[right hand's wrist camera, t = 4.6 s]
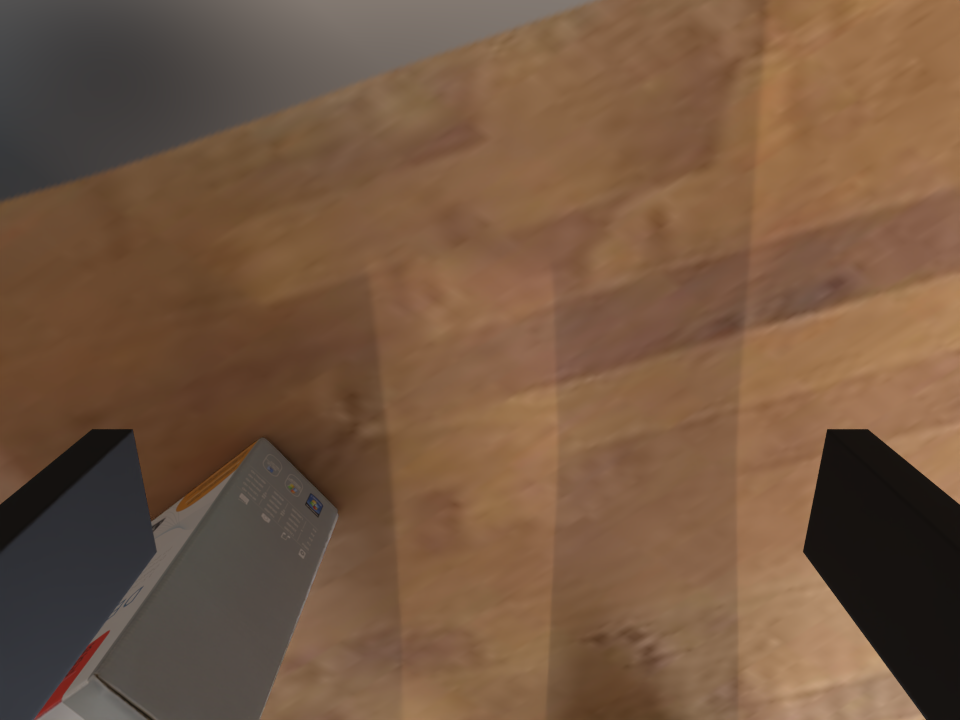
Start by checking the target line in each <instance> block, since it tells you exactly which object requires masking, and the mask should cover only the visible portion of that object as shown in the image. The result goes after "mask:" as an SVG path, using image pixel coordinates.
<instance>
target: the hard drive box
mask: <svg viewBox="0 0 960 720" xmlns="http://www.w3.org/2000/svg"><path fill="white" fill-rule="evenodd" d="M337 512H338V510H337V509H336V508H335V507H334V506H333V505H332V504H331V503H330V501H329V500H328V499H327V498H326V497H324V496H323V495H322V494H321V493H320V492H319V491H318V490H317V488H316V487H314V486H313V485H312V484H311V483H310V482H309V481H308V480H307V479H306V478H305V477H304V476H303V475H302V474H301V473H300V472H299V471H298V470H297V469H296V468H295V467H294V466H293V465H292V464H291V463H290V462H289V461H288V460H287V459H286V458H285V457H284V456H283V455H282V454H281V453H280V452H279V451H278V450H277V449H276V448H275V447H274V446H273V445H272V444H271V443H270V442H269V441H268V440H267V439H265V438H260V439H259V440H257V441H256V442H254V443H253V444H252V445H250V446H249V447H248V448H246V449H245V450H244V451H243V452H241V453H240V454H239V455H237V456H236V457H235V458H234V459H232V460H231V461H229V462H228V463H227V464H225V465H224V466H223V467H222V468H220V469H219V470H218V471H216V472H215V473H214V474H213V475H211V476H210V477H209V478H208V479H206V480H205V481H204V482H202V483H201V484H200V485H198V486H197V487H196V488H195V489H193V490H192V491H191V492H189V493H188V494H187V495H186V496H184V497H183V498H182V499H180V500H179V501H178V502H176V503H175V504H174V505H172V506H171V507H170V508H169V509H167V510H166V511H165V512H163V513H162V514H161V515H159V516H158V517H157V518H156V519H154V520H153V521H152V522H151V524H152V529H153V534H154V539H155V545H156V550H157V552H156V554H155V555H154V557H153V558H152V559H151V561H150V562H149V563H148V565H147V566H146V567H145V569H144V570H143V572H142V573H141V574H140V576H139V577H138V578H137V580H136V581H135V582H134V584H133V585H132V587H131V588H130V589H129V591H128V592H127V593H126V595H125V596H124V597H123V599H122V600H121V602H120V603H119V604H118V606H117V607H116V608H115V610H114V611H113V612H112V614H111V615H110V617H109V618H108V619H107V621H106V622H105V623H104V625H103V626H102V627H101V629H100V630H99V632H98V633H97V634H96V636H95V637H94V638H93V640H92V641H91V642H90V644H89V645H88V647H87V648H86V649H85V651H84V652H83V653H82V655H81V656H80V657H79V659H78V660H77V662H76V663H75V664H74V666H73V667H72V668H71V670H70V671H69V672H68V674H67V675H66V677H65V678H64V679H63V681H62V682H61V683H60V685H59V686H58V687H57V689H56V690H55V692H54V693H53V694H52V696H51V697H50V698H49V700H48V701H47V702H46V704H45V705H44V707H43V708H42V709H41V711H40V712H39V713H38V715H37V716H36V717H35V719H34V720H260V718H261V715H262V713H263V710H264V707H265V705H266V702H267V700H268V697H269V694H270V692H271V689H272V687H273V684H274V681H275V679H276V676H277V673H278V671H279V668H280V666H281V663H282V661H283V658H284V655H285V653H286V650H287V648H288V645H289V643H290V640H291V638H292V635H293V633H294V630H295V627H296V625H297V622H298V620H299V617H300V614H301V612H302V609H303V607H304V604H305V602H306V599H307V596H308V594H309V591H310V589H311V586H312V584H313V581H314V578H315V576H316V573H317V571H318V568H319V566H320V563H321V560H322V558H323V555H324V553H325V550H326V548H327V545H328V542H329V540H330V537H331V535H332V532H333V530H334V527H335V524H336V522H337V519H338V513H337Z"/></svg>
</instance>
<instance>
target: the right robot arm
mask: <svg viewBox="0 0 960 720" xmlns="http://www.w3.org/2000/svg"><path fill="white" fill-rule="evenodd" d="M156 552H157V550H156V545H155V539H154V534H153V529H152V524H151V519H150V514H149V509H148V504H147V499H146V494H145V489H144V484H143V479H142V474H141V469H140V464H139V459H138V454H137V449H136V443H135V438H134V433H133V429H92V430H91V431H90V432H88V433H87V434H86V435H85V436H83V437H82V438H81V439H80V440H79V441H77V442H76V443H75V444H74V445H73V446H71V447H70V448H69V449H68V450H66V451H65V452H64V453H63V454H62V455H60V456H59V457H58V458H57V459H55V460H54V461H53V462H52V463H51V464H49V465H48V466H47V467H46V468H44V469H43V470H42V471H41V472H40V473H38V474H37V475H36V476H35V477H33V478H32V479H31V480H30V481H29V482H27V483H26V484H25V485H24V486H22V487H21V488H20V489H19V490H18V491H16V492H15V493H14V494H13V495H12V496H10V497H9V498H8V499H7V500H5V501H4V502H3V503H2V504H1V505H0V720H34V719H35V717H36V716H37V715H38V713H39V712H40V711H41V709H42V708H43V707H44V705H45V704H46V702H47V701H48V700H49V698H50V697H51V696H52V694H53V693H54V692H55V690H56V689H57V687H58V686H59V685H60V683H61V682H62V681H63V679H64V678H65V677H66V675H67V674H68V672H69V671H70V670H71V668H72V667H73V666H74V664H75V663H76V662H77V660H78V659H79V657H80V656H81V655H82V653H83V652H84V651H85V649H86V648H87V647H88V645H89V644H90V642H91V641H92V640H93V638H94V637H95V636H96V634H97V633H98V632H99V630H100V629H101V627H102V626H103V625H104V623H105V622H106V621H107V619H108V618H109V617H110V615H111V614H112V612H113V611H114V610H115V608H116V607H117V606H118V604H119V603H120V602H121V600H122V599H123V597H124V596H125V595H126V593H127V592H128V591H129V589H130V588H131V587H132V585H133V584H134V582H135V581H136V580H137V578H138V577H139V576H140V574H141V573H142V572H143V570H144V569H145V567H146V566H147V565H148V563H149V562H150V561H151V559H152V558H153V557H154V555H155V554H156ZM803 552H804V554H805V555H806V557H807V558H808V559H809V561H810V562H811V563H812V565H813V566H814V567H815V569H816V570H817V572H818V573H819V574H820V576H821V577H822V578H823V580H824V581H825V582H826V584H827V585H828V587H829V588H830V589H831V591H832V592H833V593H834V595H835V596H836V597H837V599H838V600H839V602H840V603H841V604H842V606H843V607H844V608H845V610H846V611H847V612H848V614H849V615H850V617H851V618H852V619H853V621H854V622H855V623H856V625H857V626H858V627H859V629H860V630H861V632H862V633H863V634H864V636H865V637H866V638H867V640H868V641H869V642H870V644H871V645H872V647H873V648H874V649H875V651H876V652H877V653H878V655H879V656H880V657H881V659H882V660H883V662H884V663H885V664H886V666H887V667H888V668H889V670H890V671H891V672H892V674H893V675H894V677H895V678H896V679H897V681H898V682H899V683H900V685H901V686H902V687H903V689H904V690H905V692H906V693H907V694H908V696H909V697H910V698H911V700H912V701H913V702H914V704H915V705H916V707H917V708H918V709H919V711H920V712H921V713H922V715H923V716H924V717H925V719H926V720H960V505H959V504H958V503H957V502H956V501H955V500H953V499H952V498H951V497H950V496H948V495H947V494H946V493H945V492H944V491H942V490H941V489H940V488H939V487H938V486H936V485H935V484H934V483H933V482H931V481H930V480H929V479H928V478H927V477H925V476H924V475H923V474H922V473H920V472H919V471H918V470H917V469H916V468H914V467H913V466H912V465H911V464H909V463H908V462H907V461H906V460H905V459H903V458H902V457H901V456H900V455H898V454H897V453H896V452H895V451H894V450H892V449H891V448H890V447H889V446H887V445H886V444H885V443H884V442H883V441H881V440H880V439H879V438H878V437H877V436H875V435H874V434H873V433H872V432H870V431H869V430H868V429H827V433H826V438H825V443H824V449H823V454H822V459H821V464H820V469H819V474H818V479H817V484H816V489H815V494H814V499H813V504H812V509H811V514H810V519H809V524H808V529H807V534H806V539H805V545H804V550H803Z"/></svg>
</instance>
